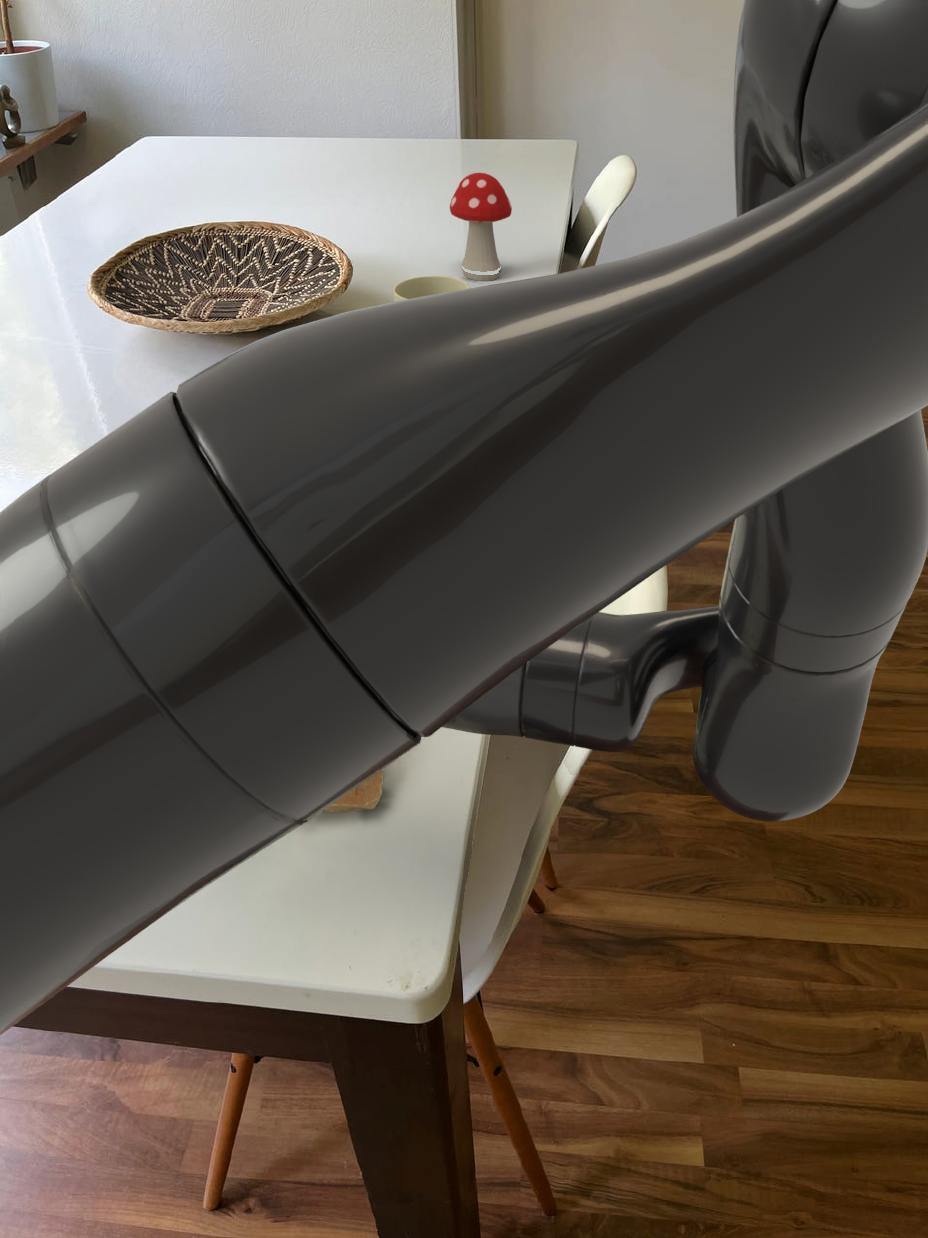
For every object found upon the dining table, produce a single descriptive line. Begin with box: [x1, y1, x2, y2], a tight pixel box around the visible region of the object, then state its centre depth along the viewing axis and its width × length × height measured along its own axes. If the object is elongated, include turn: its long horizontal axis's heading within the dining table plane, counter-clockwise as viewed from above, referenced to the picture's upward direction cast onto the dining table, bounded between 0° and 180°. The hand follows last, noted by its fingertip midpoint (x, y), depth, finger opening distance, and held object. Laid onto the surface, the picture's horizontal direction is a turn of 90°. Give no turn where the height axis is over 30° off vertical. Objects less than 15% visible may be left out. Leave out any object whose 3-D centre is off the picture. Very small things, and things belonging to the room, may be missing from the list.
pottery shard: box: [322, 769, 384, 813], centre depth 71 cm, size 10×9×2 cm
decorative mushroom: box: [449, 172, 513, 282], centre depth 150 cm, size 10×9×15 cm
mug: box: [392, 275, 472, 302], centre depth 120 cm, size 11×10×12 cm
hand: (165, 609), depth 56 cm, fingers closed on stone, 4 cm apart
